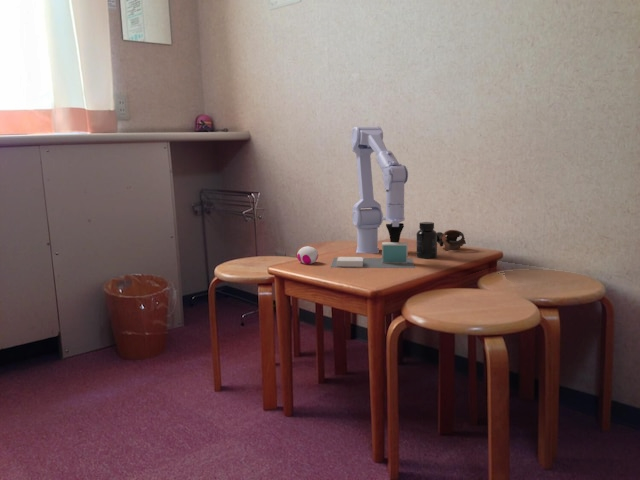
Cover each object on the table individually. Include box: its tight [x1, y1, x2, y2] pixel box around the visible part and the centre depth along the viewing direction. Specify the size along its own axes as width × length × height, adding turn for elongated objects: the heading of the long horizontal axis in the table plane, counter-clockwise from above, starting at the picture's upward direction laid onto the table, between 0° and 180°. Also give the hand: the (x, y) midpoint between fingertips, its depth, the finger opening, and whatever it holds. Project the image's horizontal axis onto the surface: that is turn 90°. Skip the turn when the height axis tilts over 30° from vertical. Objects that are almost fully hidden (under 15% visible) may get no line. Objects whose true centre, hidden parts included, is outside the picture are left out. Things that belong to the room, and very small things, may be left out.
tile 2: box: [381, 241, 409, 263], centre depth 180 cm, size 2×8×6 cm, turn 84°
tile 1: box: [337, 256, 364, 268], centre depth 179 cm, size 2×8×6 cm
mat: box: [330, 257, 416, 269], centre depth 182 cm, size 15×26×1 cm, turn 84°
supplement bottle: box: [415, 221, 438, 260], centre depth 189 cm, size 7×7×12 cm
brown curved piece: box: [436, 229, 467, 252], centre depth 205 cm, size 12×10×8 cm
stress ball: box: [296, 245, 319, 265], centre depth 183 cm, size 8×8×7 cm
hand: (394, 246), depth 181 cm, fingers closed
